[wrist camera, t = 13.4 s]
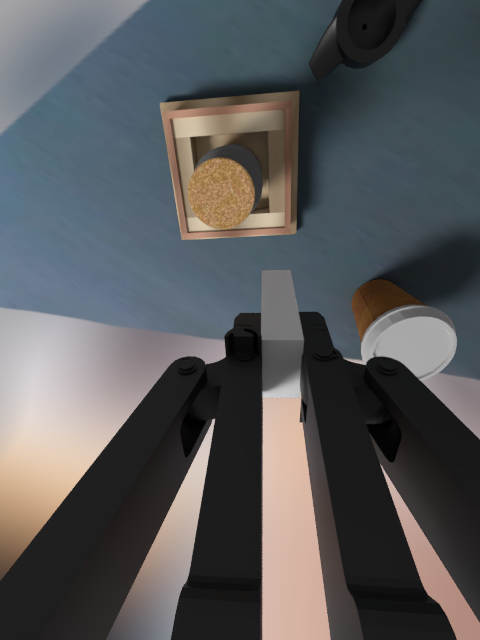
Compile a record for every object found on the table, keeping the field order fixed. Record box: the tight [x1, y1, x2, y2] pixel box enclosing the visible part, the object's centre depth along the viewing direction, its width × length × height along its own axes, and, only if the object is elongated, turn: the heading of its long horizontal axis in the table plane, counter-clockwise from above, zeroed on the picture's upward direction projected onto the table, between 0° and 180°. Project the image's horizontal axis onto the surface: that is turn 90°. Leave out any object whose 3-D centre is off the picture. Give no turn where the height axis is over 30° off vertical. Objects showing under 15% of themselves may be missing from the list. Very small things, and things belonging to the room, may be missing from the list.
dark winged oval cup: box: [309, 0, 421, 83], centre depth 28 cm, size 8×10×3 cm
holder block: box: [160, 91, 299, 240], centre depth 34 cm, size 14×14×4 cm
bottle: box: [188, 144, 263, 229], centre depth 28 cm, size 6×6×15 cm
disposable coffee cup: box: [352, 279, 457, 381], centre depth 38 cm, size 10×10×12 cm
